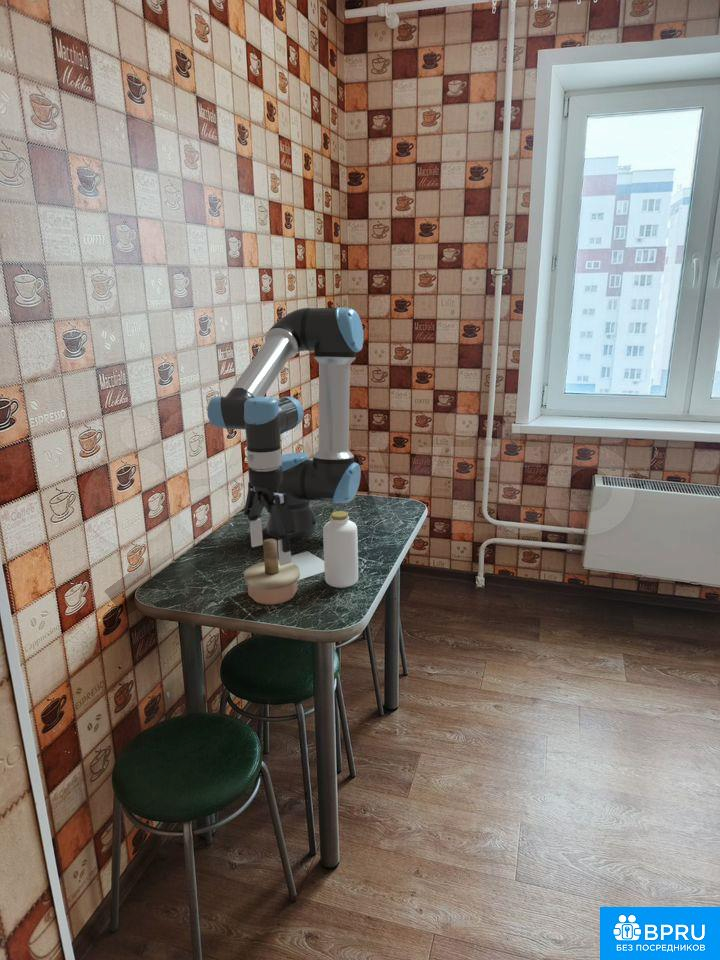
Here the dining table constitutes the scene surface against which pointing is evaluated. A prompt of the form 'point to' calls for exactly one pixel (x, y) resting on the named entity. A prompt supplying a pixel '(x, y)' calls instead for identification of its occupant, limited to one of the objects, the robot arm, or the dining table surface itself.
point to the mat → (308, 564)
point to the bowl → (273, 594)
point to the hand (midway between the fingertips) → (270, 554)
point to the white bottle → (340, 551)
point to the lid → (271, 570)
